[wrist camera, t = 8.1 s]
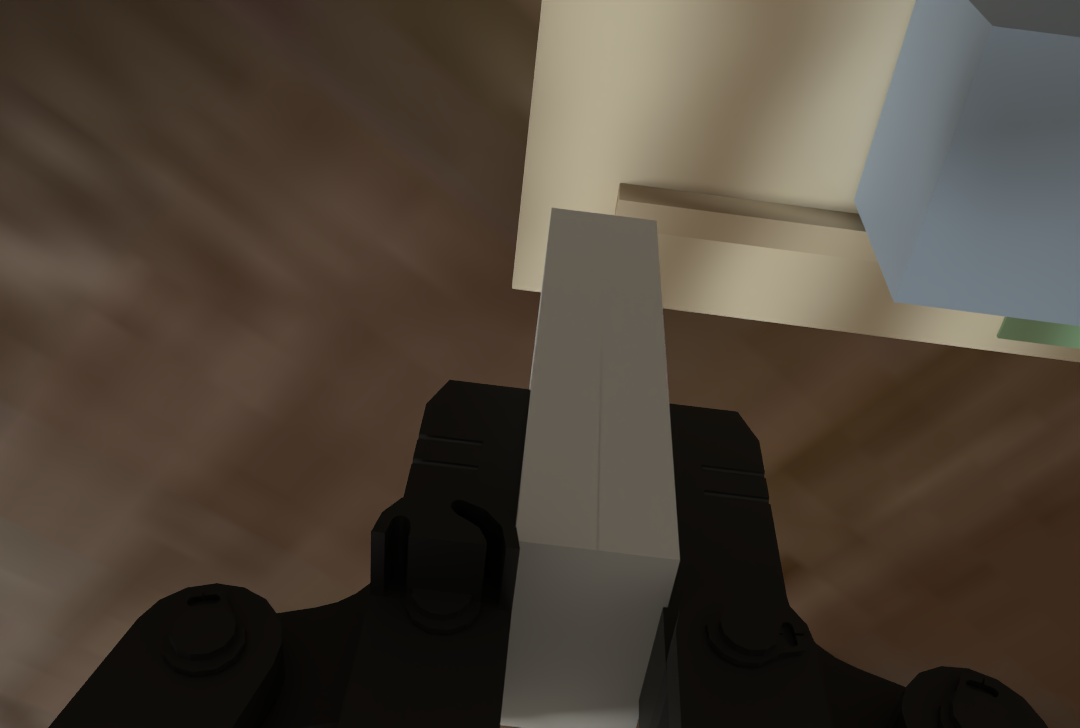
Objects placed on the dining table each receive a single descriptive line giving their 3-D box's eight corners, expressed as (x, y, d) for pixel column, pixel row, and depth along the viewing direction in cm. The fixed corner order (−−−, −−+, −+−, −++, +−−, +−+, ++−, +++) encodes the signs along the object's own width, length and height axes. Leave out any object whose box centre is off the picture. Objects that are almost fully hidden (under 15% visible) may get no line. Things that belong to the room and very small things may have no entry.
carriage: (847, 221, 27) (888, 332, 22) (937, -71, 23) (1009, -3, 18) (1037, 245, 27) (1115, 362, 22) (1163, -42, 23) (1288, 34, 18)
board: (515, 267, 30) (508, 307, 28) (576, -306, 22) (571, -301, 20) (1269, 365, 30) (1310, 411, 28) (1609, -172, 22) (1697, -155, 20)
